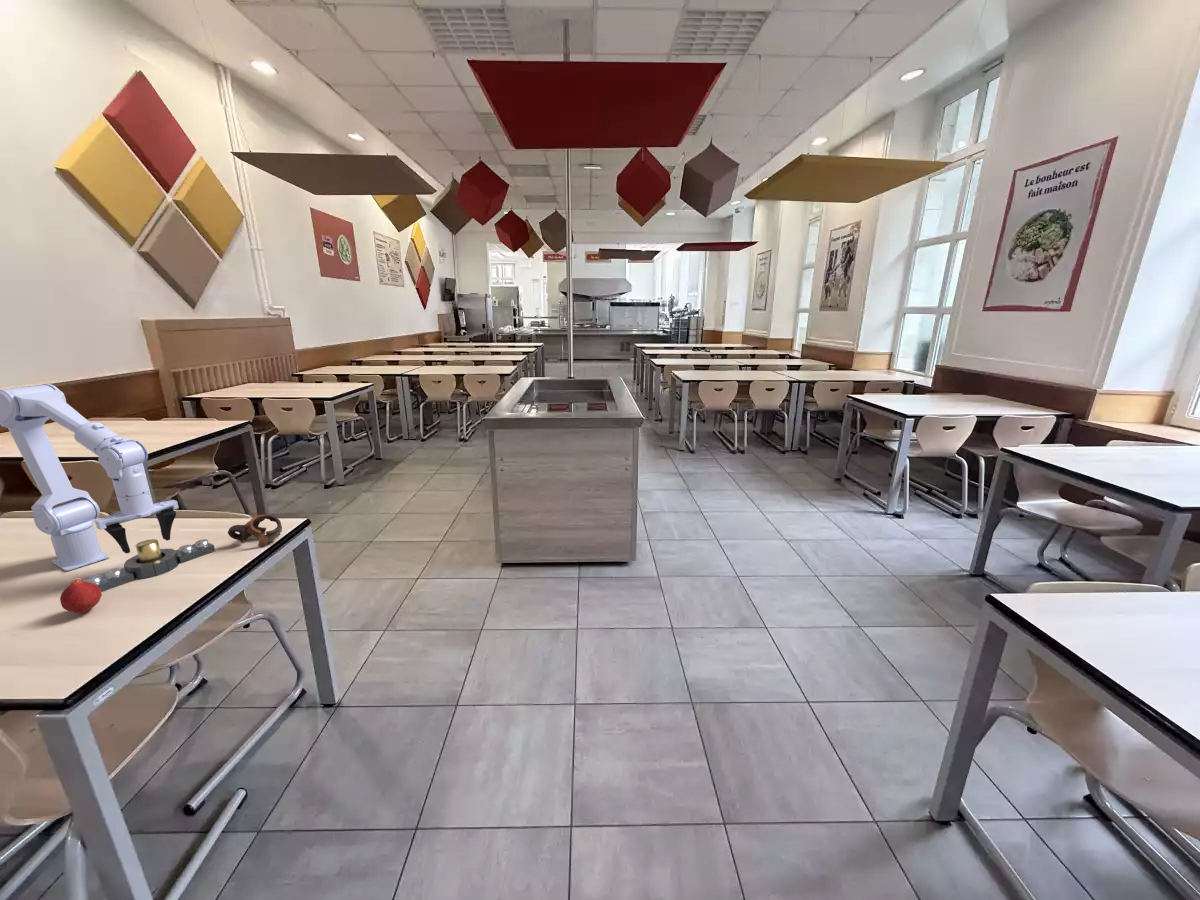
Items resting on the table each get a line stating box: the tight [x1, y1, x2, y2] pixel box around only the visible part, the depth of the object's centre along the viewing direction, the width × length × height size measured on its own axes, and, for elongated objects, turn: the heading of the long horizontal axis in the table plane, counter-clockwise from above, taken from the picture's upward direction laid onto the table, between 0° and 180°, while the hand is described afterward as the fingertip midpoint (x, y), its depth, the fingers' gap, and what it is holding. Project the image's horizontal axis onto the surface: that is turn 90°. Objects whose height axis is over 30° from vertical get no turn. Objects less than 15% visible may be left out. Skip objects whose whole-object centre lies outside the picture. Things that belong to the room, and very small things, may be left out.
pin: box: [135, 538, 162, 563], centre depth 118 cm, size 4×4×7 cm
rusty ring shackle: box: [227, 514, 283, 548], centre depth 133 cm, size 12×10×8 cm
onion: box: [59, 577, 103, 614], centre depth 101 cm, size 6×6×8 cm
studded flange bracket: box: [83, 538, 216, 593], centre depth 119 cm, size 9×24×3 cm, turn 152°
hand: (147, 545), depth 117 cm, fingers open, 7 cm apart
